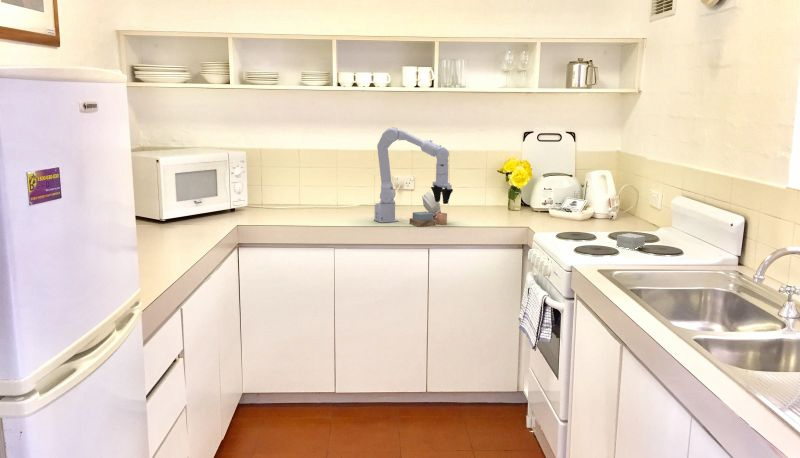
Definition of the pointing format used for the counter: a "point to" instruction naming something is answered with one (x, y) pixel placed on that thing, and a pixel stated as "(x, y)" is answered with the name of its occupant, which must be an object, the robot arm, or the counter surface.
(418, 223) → the walnut slab
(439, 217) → the terracotta cylinder
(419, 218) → the slate block
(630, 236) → the small box
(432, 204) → the ink box
